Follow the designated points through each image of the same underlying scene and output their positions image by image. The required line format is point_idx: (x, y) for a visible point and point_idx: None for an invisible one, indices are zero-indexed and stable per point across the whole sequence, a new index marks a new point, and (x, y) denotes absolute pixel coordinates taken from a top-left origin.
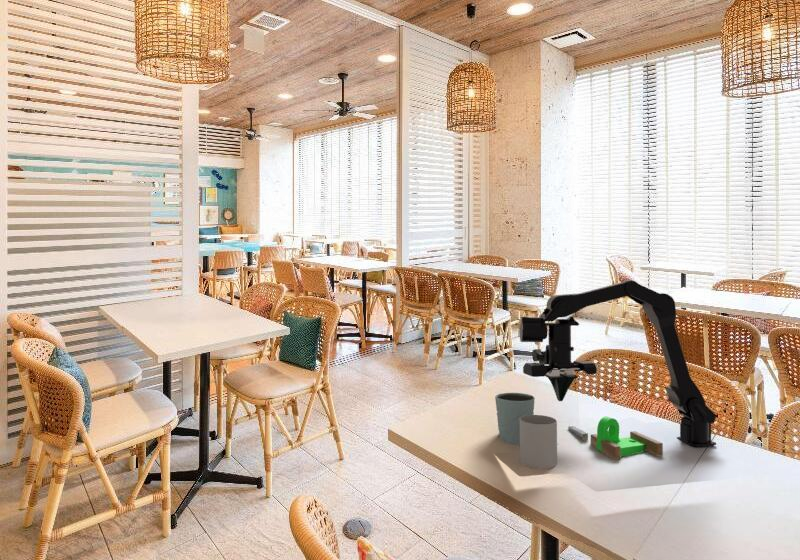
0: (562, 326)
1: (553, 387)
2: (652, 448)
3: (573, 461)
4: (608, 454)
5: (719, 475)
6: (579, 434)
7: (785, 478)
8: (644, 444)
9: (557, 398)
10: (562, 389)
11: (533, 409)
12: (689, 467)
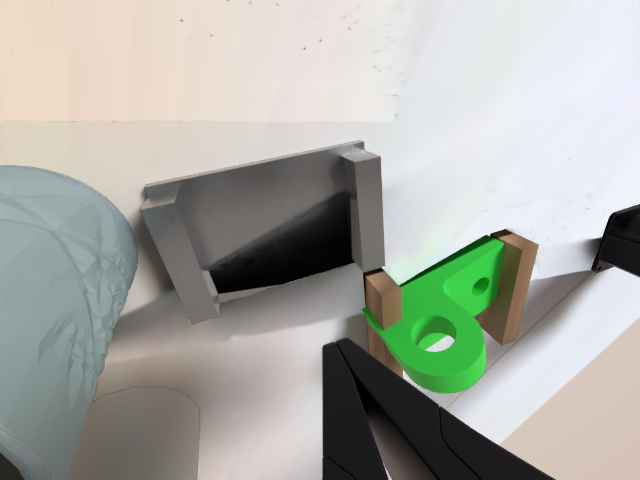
0: None
1: (324, 473)
2: (489, 318)
3: (255, 397)
4: (370, 346)
5: (496, 391)
6: (357, 246)
7: (565, 378)
8: (492, 301)
9: (323, 363)
10: (394, 471)
11: (87, 403)
12: None
